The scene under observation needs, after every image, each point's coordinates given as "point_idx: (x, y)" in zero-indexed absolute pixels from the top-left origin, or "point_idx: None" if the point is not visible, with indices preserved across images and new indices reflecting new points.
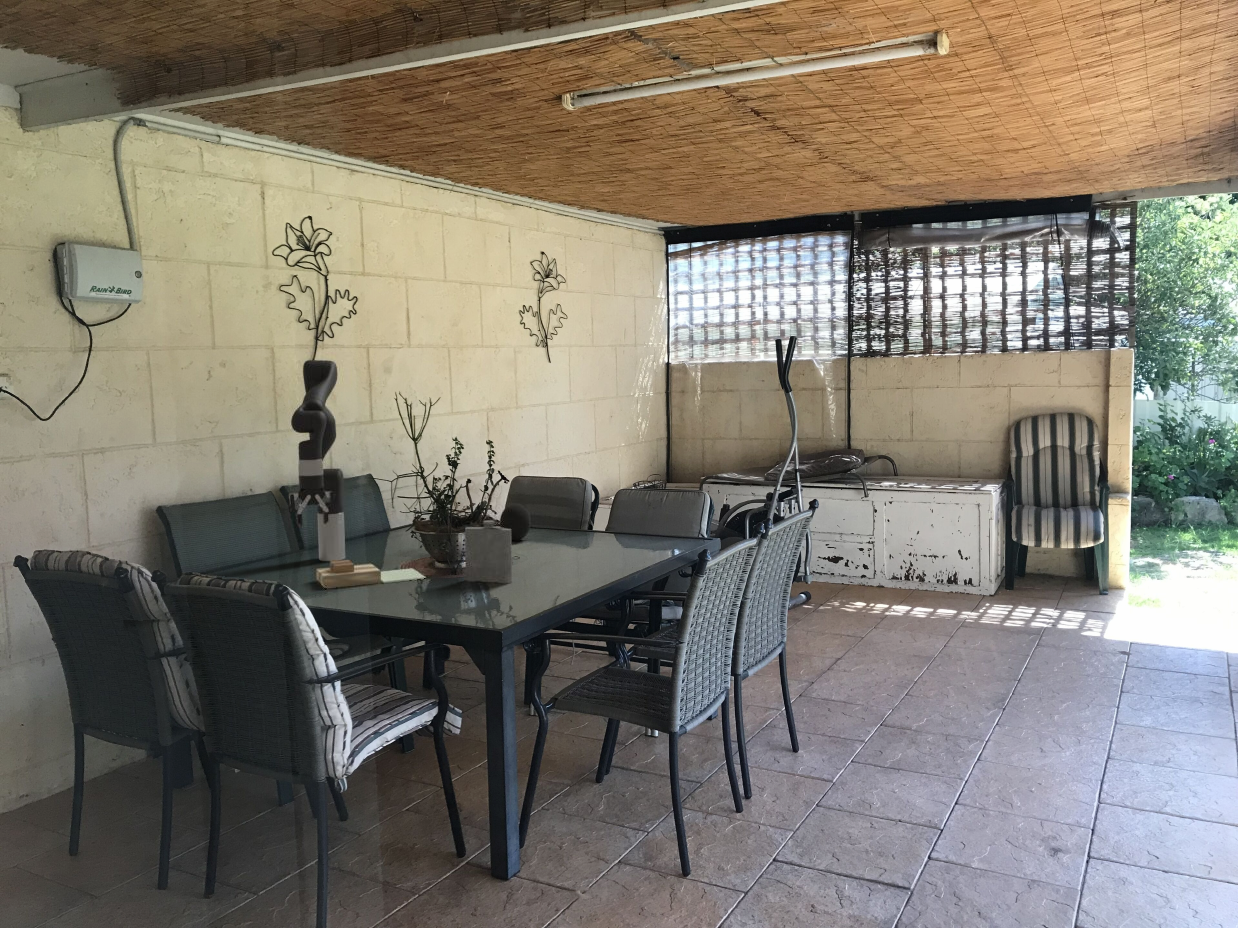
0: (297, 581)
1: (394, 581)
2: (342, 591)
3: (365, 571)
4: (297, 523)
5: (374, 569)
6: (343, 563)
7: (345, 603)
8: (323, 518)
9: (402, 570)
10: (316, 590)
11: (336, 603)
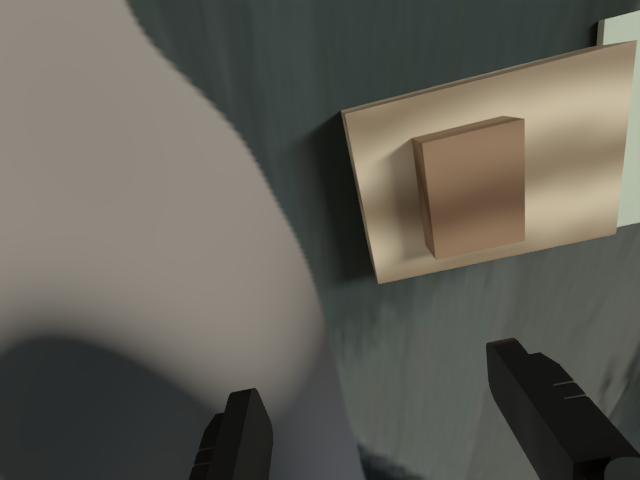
0: (258, 98)
1: (628, 222)
2: (426, 309)
3: (551, 233)
4: (218, 427)
5: (600, 202)
6: (481, 212)
7: (419, 429)
8: (516, 400)
9: None
10: (343, 277)
11: (397, 425)
